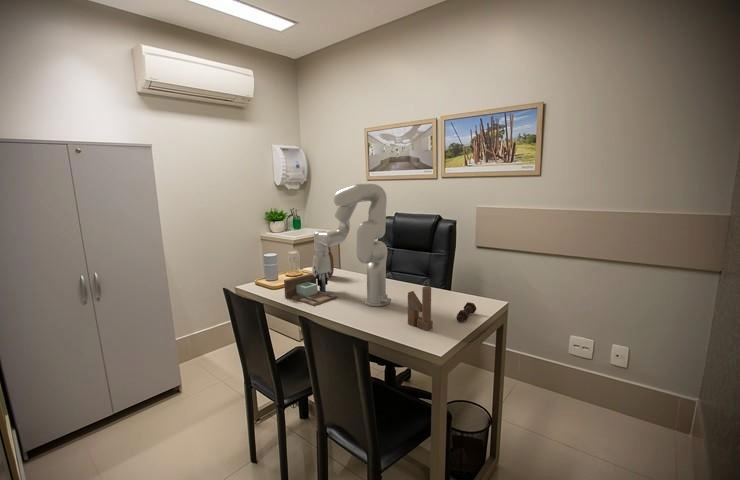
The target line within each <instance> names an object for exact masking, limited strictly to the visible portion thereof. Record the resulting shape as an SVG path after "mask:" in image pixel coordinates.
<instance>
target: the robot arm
mask: <svg viewBox="0 0 740 480" xmlns="http://www.w3.org/2000/svg"><path fill="white" fill-rule="evenodd" d="M387 198H388V197H387V193H386V191H385V190H384V188H383V187H381V186H380V185H378V184H376V183H356V184H354V185H350V186H347V187H345V188H342V189H340V190H338V191H336V193H334V196H333V201H334V204H335V206H336V210H335V212H334V217H335V219H337V221H339V224H338V226H337V228H336V230H332V231H328V232H327V230H316V231H314V233H313V241H314V244H313V245H314V249H313V250H314V255H313V257H312V265H311V266H312V269H311V270H312V272H311V273H313V274H312V276H314V277H316V284H317V287H320V286H322V279H321V274H323V273H326V274H325V283H326V286H328V279H329V278H328V275H329V274H330V273H331V272H332V270H331V264H330V257H329V255H328V252H329V250H328V247H331V246H336V245H341V244H343V243H344V242H345V240H346V238H347V237H348V236H349V233H350V230H351V229H350V228H351V224H350V220H351V218H352V216H353V213H354V212H355V209H356V208H357V206H358V203H362V202H364V203H365V202H370V205H369V208H368V213H367V215H368V216H367V220H364V221H363V222H361V223H360V224H359V225H358V227H357V230H356V248H355V249H356V257H357V259H358V261H359V262H360V263H361V264H366V298H365V299H364V300H363V303H364V304H365V305H366V306H368V307H384V306H386V305H389V304H390V303H391V301H392V298H390V297H389V296H388V294H387V291H386V289H387V288H386V285H387V283H386V282H387V279H386V278H387V277H386V276H387V273H386V272H387V271H386V270H387V269H386V268H387V258H388V247H387V244H385V242H383V241H381V240H378V239H381V238H383V237H384V236H385V234H386V226H387V225H386V223H387V222H386V220H387V218H386V217H387V213H386V212H387V201H388V200H387Z"/></svg>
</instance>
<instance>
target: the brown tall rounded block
mask: <svg viewBox="0 0 740 480" xmlns="http://www.w3.org/2000/svg"><path fill="white" fill-rule="evenodd" d="M328 250H329V252H328V255H329V257H330V264H331V270H332V272H331V273H330V274H329V275H328V278H327V279H330V278H331V277H333V274H334V267H335V266H334V255H333V254H332V251H331V246H328ZM325 274H326V273H325Z"/></svg>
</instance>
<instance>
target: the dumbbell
mask: <svg viewBox="0 0 740 480" xmlns="http://www.w3.org/2000/svg"><path fill="white" fill-rule="evenodd" d="M476 311H477V307H476V304H475V303H474V302H466V303H465V305H464V306H463V309H461V310H459V311H458V313H457V314H456V315H457V316H456V321H457V322H458V321H459V323H463V322H465V321H464V320H466V321H467V320H468V318H469V317H470V315H471V314H470V313H476Z"/></svg>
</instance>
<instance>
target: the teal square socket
mask: <svg viewBox="0 0 740 480" xmlns="http://www.w3.org/2000/svg"><path fill="white" fill-rule="evenodd" d="M317 290H318V285H317V283H316V284H313V283H310V282H306V283H302V284H299V285H296V292H297V293H298V294H301V295H304V296H307V297H308V296H311V295H314V294H318V291H319V290H318V291H317Z"/></svg>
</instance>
